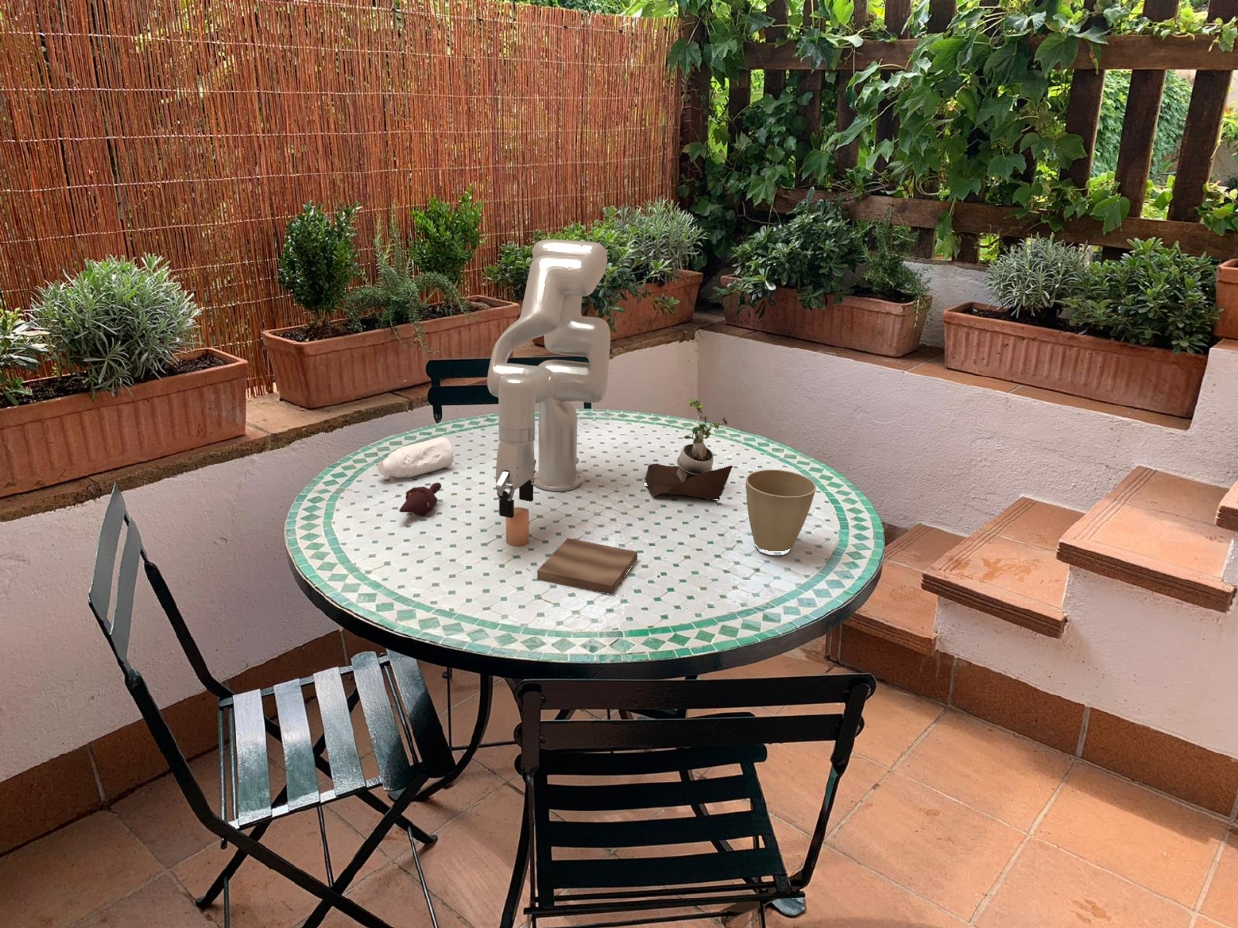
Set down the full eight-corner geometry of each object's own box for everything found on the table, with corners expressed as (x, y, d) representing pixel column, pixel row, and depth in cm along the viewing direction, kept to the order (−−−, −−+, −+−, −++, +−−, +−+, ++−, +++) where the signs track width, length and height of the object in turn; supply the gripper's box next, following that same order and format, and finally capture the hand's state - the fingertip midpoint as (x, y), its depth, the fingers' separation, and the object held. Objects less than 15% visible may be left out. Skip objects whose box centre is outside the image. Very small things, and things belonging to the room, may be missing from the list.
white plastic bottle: (373, 478, 232) (371, 449, 229) (437, 461, 244) (436, 433, 241) (389, 488, 226) (387, 458, 223) (454, 470, 238) (453, 441, 235)
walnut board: (567, 546, 201) (567, 537, 200) (637, 560, 196) (637, 551, 195) (537, 579, 187) (537, 570, 186) (611, 594, 182) (611, 585, 181)
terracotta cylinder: (512, 534, 205) (511, 505, 203) (532, 538, 204) (532, 509, 201) (502, 543, 201) (501, 514, 198) (523, 547, 199) (523, 518, 197)
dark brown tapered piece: (416, 504, 203) (454, 486, 216) (389, 490, 205) (429, 473, 218) (410, 531, 206) (447, 511, 219) (383, 516, 208) (422, 498, 221)
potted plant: (716, 481, 245) (743, 404, 230) (717, 527, 229) (745, 447, 215) (643, 466, 244) (665, 387, 229) (639, 511, 228) (662, 429, 214)
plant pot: (755, 568, 195) (762, 498, 189) (729, 537, 208) (735, 471, 202) (819, 561, 199) (828, 493, 193) (789, 531, 212) (797, 467, 206)
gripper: (518, 419, 202) (517, 491, 208) (481, 442, 186) (482, 520, 192) (549, 424, 199) (548, 497, 205) (515, 448, 184) (515, 526, 190)
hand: (516, 508), depth 199 cm, fingers open, 9 cm apart
